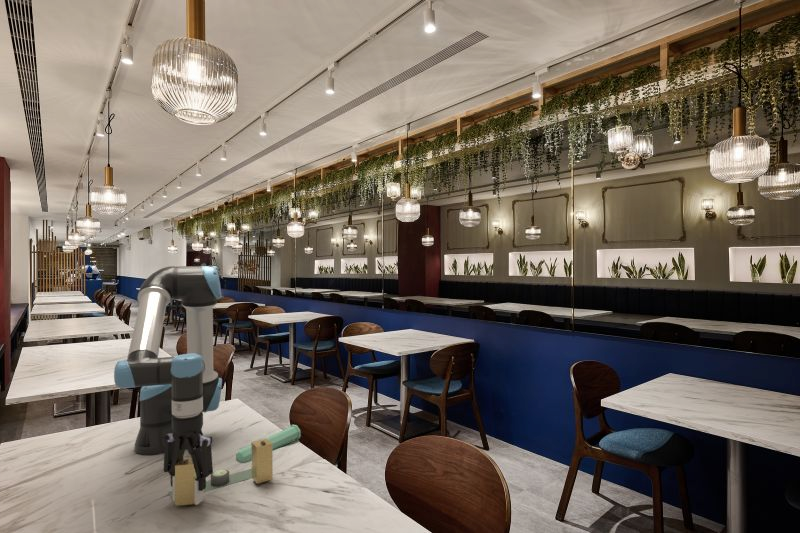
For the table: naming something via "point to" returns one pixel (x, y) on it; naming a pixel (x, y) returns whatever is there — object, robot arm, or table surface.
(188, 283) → the robot arm
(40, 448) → the table surface
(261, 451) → the knob far
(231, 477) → the base plate
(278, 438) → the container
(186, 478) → the knob near
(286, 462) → the table surface
